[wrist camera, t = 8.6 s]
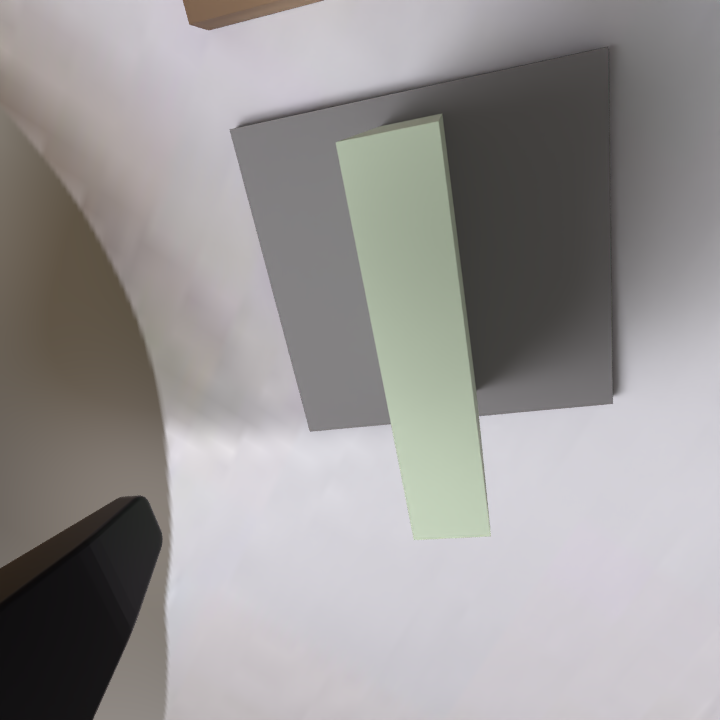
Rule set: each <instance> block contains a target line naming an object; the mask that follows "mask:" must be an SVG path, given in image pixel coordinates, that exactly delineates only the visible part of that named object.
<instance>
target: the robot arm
mask: <svg viewBox="0 0 720 720" xmlns="http://www.w3.org/2000/svg"><path fill="white" fill-rule="evenodd" d="M161 547H162V532H161V530H160V527H159V525H158V522H157V520H156V518H155V515H154V513H153V511H152V508H151V506H150V503H149V502H148V500H147V499H146V498H145V497H143V496H139V495H138V496H125V497H120V498H118V499H116V500H114V501H112V502H111V503H109V504H107V505H106V506H104V507H102V508H101V509H99V510H97V511H96V512H94V513H92V514H91V515H89V516H87V517H85V518H84V519H82V520H81V521H79V522H77V523H76V524H74V525H72V526H70V527H69V528H67V529H65V530H64V531H62V532H60V533H59V534H57V535H55V536H54V537H52V538H50V539H49V540H47V541H45V542H44V543H42V544H40V545H39V546H37V547H35V548H33V549H32V550H30V551H29V552H27V553H25V554H23V555H22V556H20V557H18V558H17V559H15V560H13V561H12V562H10V563H8V564H7V565H5V566H3V567H2V568H0V720H93V718H94V716H95V714H96V712H97V710H98V707H99V705H100V703H101V701H102V698H103V696H104V694H105V692H106V690H107V687H108V685H109V683H110V680H111V678H112V676H113V674H114V672H115V670H116V667H117V665H118V663H119V661H120V658H121V656H122V654H123V651H124V650H125V647H126V645H127V643H128V640H129V638H130V636H131V633H132V631H133V628H134V625H135V623H136V620H137V617H138V615H139V611H140V609H141V606H142V603H143V600H144V597H145V594H146V591H147V588H148V585H149V582H150V579H151V577H152V573H153V571H154V568H155V565H156V562H157V559H158V556H159V553H160V550H161Z"/></svg>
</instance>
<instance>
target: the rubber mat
mask: <svg viewBox="0 0 720 720" xmlns="http://www.w3.org/2000/svg"><path fill="white" fill-rule="evenodd" d="M437 114H442V115H443V123H444V132H445V140H446V148H447V156H448V164H449V172H450V180H451V189H452V197H453V205H454V213H455V221H456V229H457V237H458V246H459V254H460V262H461V270H462V278H463V286H464V294H465V303H466V311H467V319H468V327H469V335H470V343H471V351H472V360H473V368H474V376H475V384H476V392H477V402H478V412H479V416H485V415H496V414H506V413H517V412H528V411H539V410H550V409H561V408H572V407H583V406H593V405H604V404H613V385H612V301H611V217H610V133H609V49H608V47H604V48H600V49H595V50H591V51H586V52H581V53H577V54H572V55H568V56H563V57H559V58H554V59H549V60H545V61H540V62H536V63H531V64H527V65H522V66H517V67H513V68H508V69H504V70H499V71H495V72H490V73H485V74H481V75H476V76H472V77H467V78H463V79H458V80H453V81H449V82H444V83H440V84H435V85H431V86H426V87H422V88H417V89H412V90H408V91H403V92H399V93H394V94H390V95H385V96H380V97H376V98H371V99H367V100H362V101H358V102H353V103H348V104H344V105H339V106H335V107H330V108H326V109H321V110H316V111H312V112H307V113H303V114H298V115H294V116H289V117H284V118H280V119H275V120H271V121H266V122H262V123H257V124H252V125H248V126H243V127H239V128H234V129H230V133H231V137H232V140H233V144H234V148H235V152H236V155H237V159H238V163H239V167H240V170H241V174H242V178H243V182H244V186H245V189H246V193H247V197H248V201H249V204H250V208H251V212H252V216H253V219H254V223H255V227H256V231H257V234H258V238H259V242H260V246H261V249H262V253H263V257H264V261H265V265H266V268H267V272H268V276H269V280H270V283H271V287H272V291H273V295H274V298H275V302H276V306H277V310H278V313H279V317H280V321H281V325H282V328H283V332H284V336H285V340H286V344H287V347H288V351H289V355H290V359H291V362H292V366H293V370H294V374H295V377H296V381H297V385H298V389H299V392H300V396H301V400H302V404H303V407H304V411H305V415H306V419H307V423H308V426H309V430H310V432H311V431H321V430H332V429H343V428H354V427H365V426H376V425H387V424H391V421H390V416H389V411H388V406H387V401H386V396H385V391H384V386H383V381H382V376H381V371H380V366H379V360H378V355H377V350H376V345H375V340H374V335H373V330H372V325H371V320H370V315H369V310H368V305H367V300H366V295H365V289H364V284H363V279H362V274H361V269H360V264H359V259H358V254H357V249H356V244H355V239H354V234H353V229H352V224H351V218H350V213H349V208H348V203H347V198H346V193H345V188H344V183H343V178H342V173H341V168H340V163H339V158H338V153H337V148H336V142H338V141H341V140H343V139H346V138H349V137H352V136H355V135H357V134H360V133H363V132H366V131H368V130H371V129H374V128H377V127H380V126H384V125H389V124H393V123H398V122H403V121H408V120H413V119H418V118H422V117H427V116H432V115H437Z"/></svg>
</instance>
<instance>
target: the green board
mask: <svg viewBox="0 0 720 720" xmlns="http://www.w3.org/2000/svg"><path fill="white" fill-rule="evenodd" d="M336 148H337V153H338V158H339V163H340V168H341V173H342V178H343V183H344V188H345V193H346V198H347V203H348V208H349V213H350V218H351V224H352V229H353V234H354V239H355V244H356V249H357V254H358V259H359V264H360V269H361V274H362V279H363V284H364V289H365V295H366V300H367V305H368V310H369V315H370V320H371V325H372V330H373V335H374V340H375V345H376V350H377V355H378V360H379V366H380V371H381V376H382V381H383V386H384V391H385V396H386V401H387V406H388V411H389V416H390V421H391V426H392V431H393V437H394V442H395V447H396V452H397V457H398V462H399V467H400V472H401V477H402V482H403V487H404V492H405V497H406V502H407V508H408V513H409V518H410V523H411V528H412V533H413V538H414V540H425V539H446V538H468V537H489V536H491V533H490V523H489V513H488V503H487V493H486V483H485V473H484V463H483V453H482V443H481V432H480V422H479V412H478V402H477V392H476V384H475V376H474V368H473V360H472V351H471V343H470V335H469V327H468V319H467V311H466V303H465V294H464V286H463V278H462V270H461V262H460V254H459V246H458V237H457V229H456V221H455V213H454V205H453V197H452V189H451V180H450V172H449V164H448V156H447V148H446V140H445V132H444V123H443V115H442V114H437V115H432V116H427V117H422V118H418V119H413V120H408V121H403V122H398V123H393V124H389V125H384V126H380V127H377V128H374V129H371V130H368V131H366V132H363V133H360V134H357V135H355V136H352V137H349V138H346V139H343V140H341V141H338V142H336Z"/></svg>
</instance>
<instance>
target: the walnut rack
mask: <svg viewBox="0 0 720 720" xmlns="http://www.w3.org/2000/svg"><path fill="white" fill-rule="evenodd" d="M319 1H323V0H183V3H184V6H185V10H186V14H187V17H188V21H189V25H193V26H196V27H199V28H203V29H206V30H212V29H216V28H220V27H224V26H227V25H231V24H235V23H239V22H243V21H247V20H250V19H254V18H258V17H262V16H266V15H269V14H273V13H277V12H281V11H285V10H289V9H292V8H296V7H300V6H304V5H308V4H311V3H315V2H319Z"/></svg>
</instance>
